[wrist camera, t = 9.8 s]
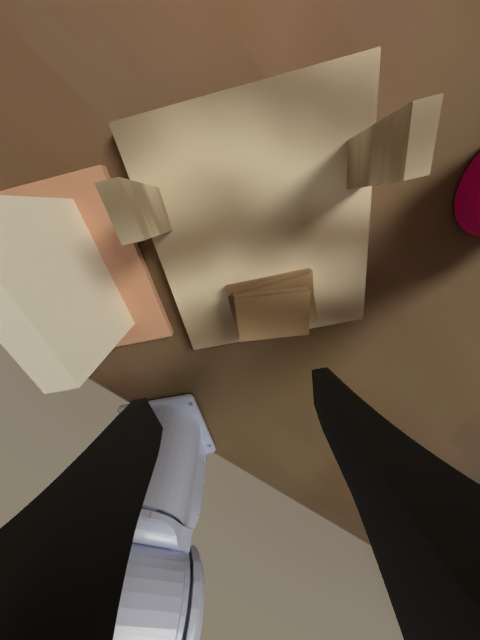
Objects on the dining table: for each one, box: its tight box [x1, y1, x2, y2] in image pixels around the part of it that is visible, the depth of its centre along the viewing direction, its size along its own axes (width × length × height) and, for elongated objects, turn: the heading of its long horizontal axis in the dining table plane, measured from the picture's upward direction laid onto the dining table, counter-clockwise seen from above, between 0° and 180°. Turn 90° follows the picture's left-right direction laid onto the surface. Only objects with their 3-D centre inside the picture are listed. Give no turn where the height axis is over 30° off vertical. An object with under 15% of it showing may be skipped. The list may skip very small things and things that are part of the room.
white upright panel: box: [0, 195, 135, 394], centre depth 12 cm, size 2×9×7 cm, turn 12°
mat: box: [0, 165, 174, 347], centre depth 16 cm, size 12×7×1 cm, turn 12°
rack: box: [94, 47, 443, 350], centre depth 13 cm, size 15×14×6 cm
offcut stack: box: [226, 268, 318, 342], centre depth 15 cm, size 4×6×2 cm
